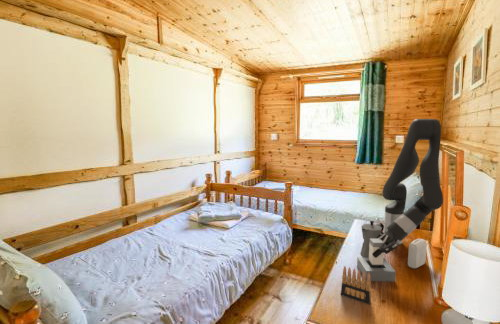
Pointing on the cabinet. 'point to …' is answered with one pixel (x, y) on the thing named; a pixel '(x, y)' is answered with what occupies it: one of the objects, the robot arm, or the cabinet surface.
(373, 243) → the connector plug
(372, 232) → the coffeepot
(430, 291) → the cabinet surface
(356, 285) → the ammunition clip
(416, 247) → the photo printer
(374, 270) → the socket holder
